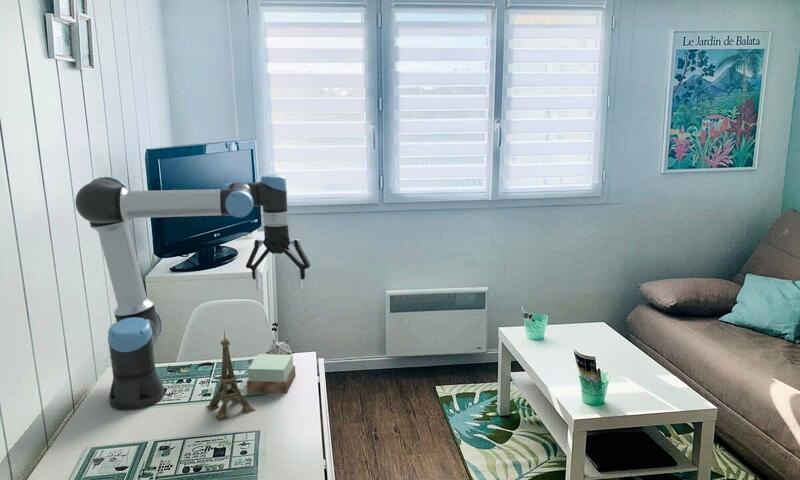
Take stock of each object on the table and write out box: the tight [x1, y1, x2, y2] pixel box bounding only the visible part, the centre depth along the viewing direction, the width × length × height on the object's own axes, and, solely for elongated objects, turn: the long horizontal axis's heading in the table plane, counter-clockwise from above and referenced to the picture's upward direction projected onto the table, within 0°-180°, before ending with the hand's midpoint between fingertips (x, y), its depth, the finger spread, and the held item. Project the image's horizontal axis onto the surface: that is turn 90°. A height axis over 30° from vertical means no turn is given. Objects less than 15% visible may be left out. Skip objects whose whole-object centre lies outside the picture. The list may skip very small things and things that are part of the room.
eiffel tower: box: [206, 330, 256, 422], centre depth 185 cm, size 11×11×25 cm
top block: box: [247, 353, 294, 382], centre depth 201 cm, size 11×11×4 cm
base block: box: [246, 365, 297, 394], centre depth 202 cm, size 12×12×4 cm
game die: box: [265, 339, 295, 355], centre depth 216 cm, size 9×8×10 cm
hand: (279, 289), depth 209 cm, fingers open, 13 cm apart
